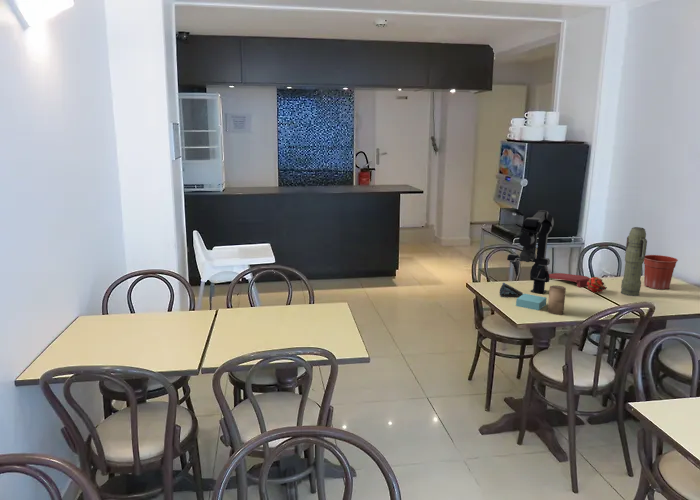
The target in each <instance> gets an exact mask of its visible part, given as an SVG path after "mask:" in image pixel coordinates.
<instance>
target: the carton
mask: <svg viewBox="0 0 700 500" xmlns="http://www.w3.org/2000/svg"><path fill="white" fill-rule="evenodd" d="M590 278H591V277H588V276H586V275H579V274H571V273H563V272H562V273H561V272H558V273H557V272H556V273H549V279H556V280H561V281H570V282H573V283H576V287H577V288H586V287H587V288H588V285H587V282H588V281H589V279H590Z"/></svg>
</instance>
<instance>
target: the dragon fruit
mask: <svg viewBox="0 0 700 500" xmlns="http://www.w3.org/2000/svg"><path fill="white" fill-rule="evenodd" d="M589 278H590V279H589V281H588V282H587V285H588V287H587V290H588V291H590V292H592V293H594V294H598V293H602V292H604V291H605V290H607V289H608V288H607V286H606V284H605V282H603V279H602V278H599V276H592V277H589Z"/></svg>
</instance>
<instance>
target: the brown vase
mask: <svg viewBox="0 0 700 500" xmlns="http://www.w3.org/2000/svg"><path fill="white" fill-rule="evenodd" d="M566 290H567V288H566V287H565V286H562V285H554V284H553V285H550V286H549V292H548V303H547V313H549V314H551V315H555V316H557V315H559V316H560V315H564V312H565V311H564V310H565V302H566V301H565V300H566V293H567V291H566Z"/></svg>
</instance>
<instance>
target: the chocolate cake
mask: <svg viewBox="0 0 700 500" xmlns="http://www.w3.org/2000/svg"><path fill="white" fill-rule="evenodd" d="M501 284H502V285H501V287H500V289H499V296H500V297H501V298H510V299H511V298H516V299H517V298H518V297H520V296H521V295H523V294H524V293H523V292H522V291H520V290H518V289H516V288H514V287H513V286H511V285H509V284H507V283H505V282H502V283H501Z"/></svg>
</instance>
